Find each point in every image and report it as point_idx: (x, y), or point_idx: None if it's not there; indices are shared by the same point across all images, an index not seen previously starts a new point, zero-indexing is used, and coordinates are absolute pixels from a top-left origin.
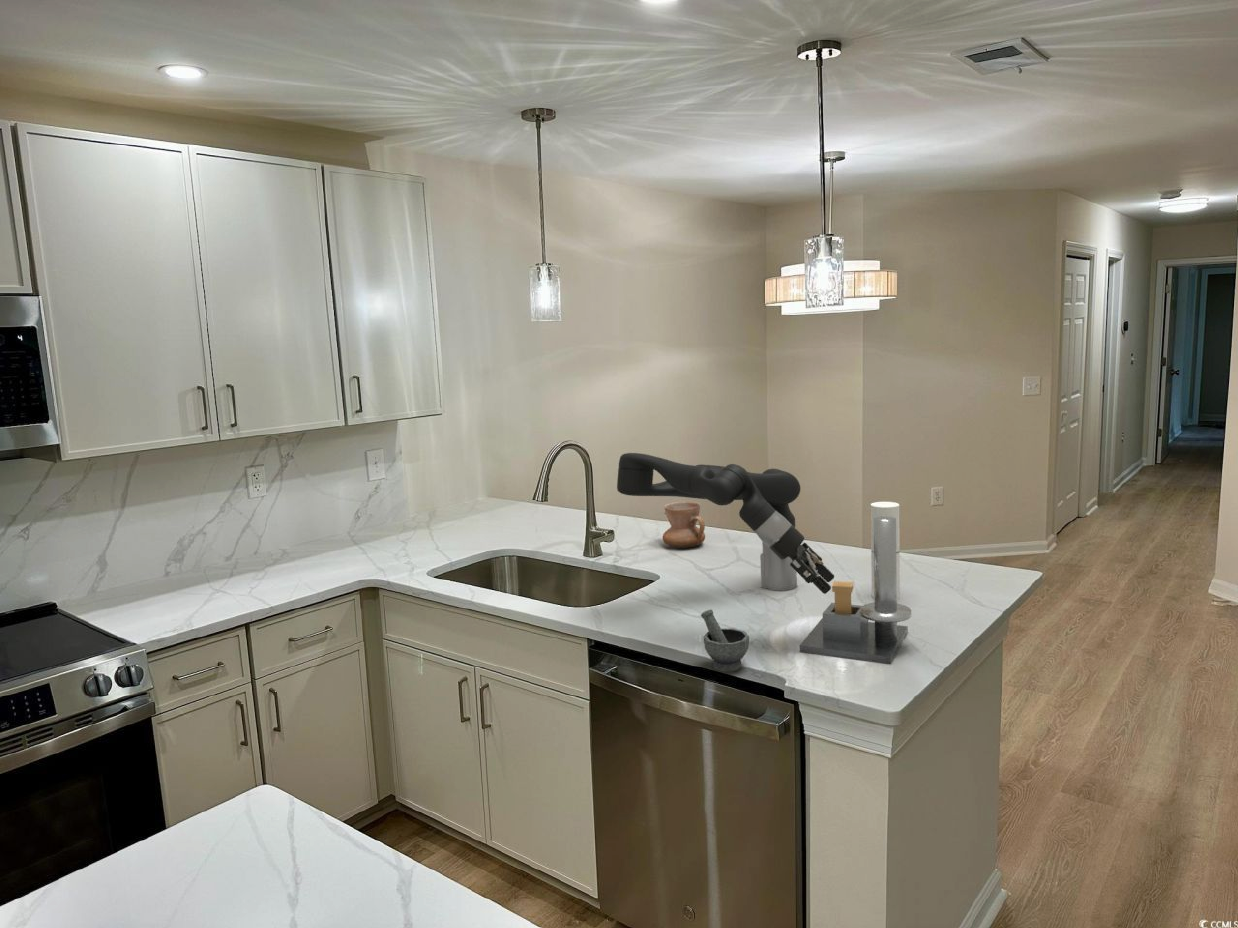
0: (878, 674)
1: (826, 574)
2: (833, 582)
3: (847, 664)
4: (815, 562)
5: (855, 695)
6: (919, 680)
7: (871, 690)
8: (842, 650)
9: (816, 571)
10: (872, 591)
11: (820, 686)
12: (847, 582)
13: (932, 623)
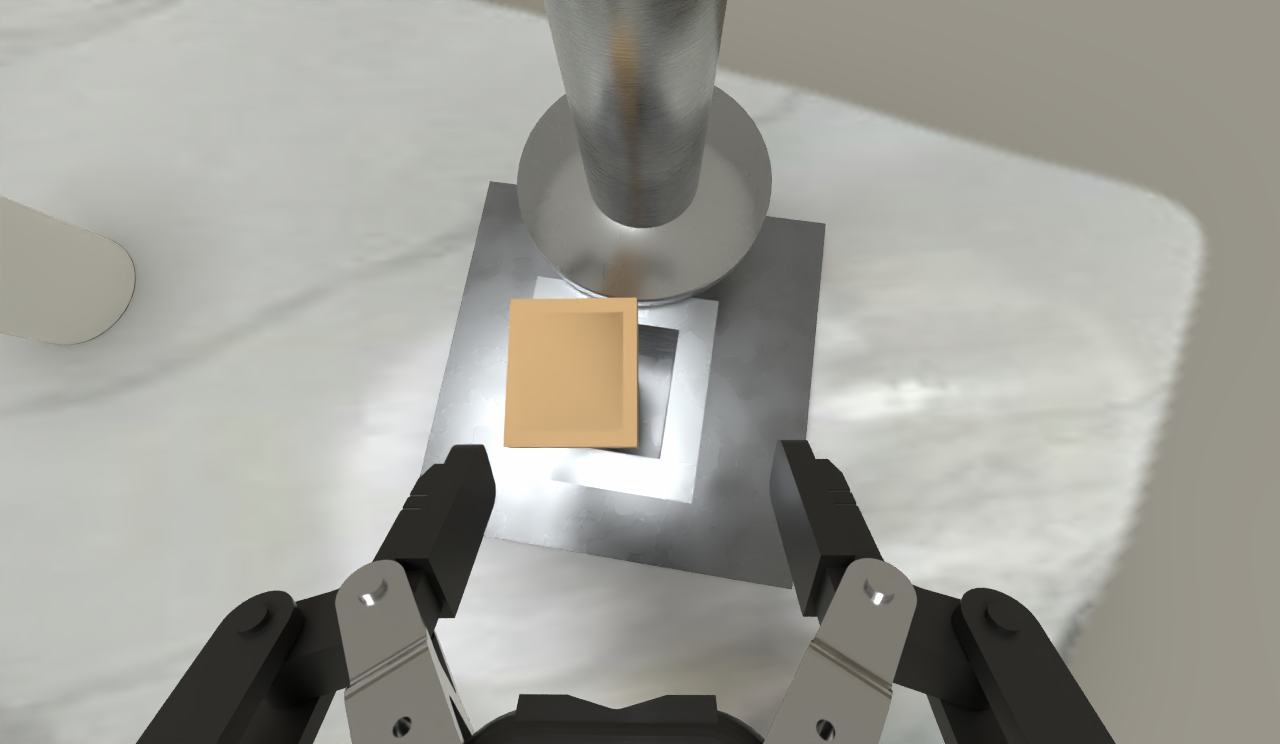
0: (924, 269)
1: (471, 512)
2: (542, 445)
3: (864, 379)
4: (444, 672)
5: (1132, 329)
6: (932, 147)
7: (1069, 282)
8: (804, 399)
9: (837, 611)
10: (55, 333)
11: (1104, 456)
12: (530, 339)
13: (394, 121)
